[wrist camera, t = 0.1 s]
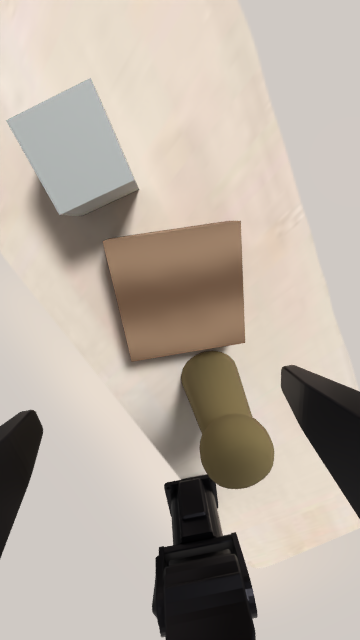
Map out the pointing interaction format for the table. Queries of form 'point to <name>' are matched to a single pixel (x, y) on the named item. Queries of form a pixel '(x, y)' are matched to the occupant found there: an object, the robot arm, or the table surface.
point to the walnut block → (179, 288)
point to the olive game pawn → (226, 422)
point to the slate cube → (74, 150)
